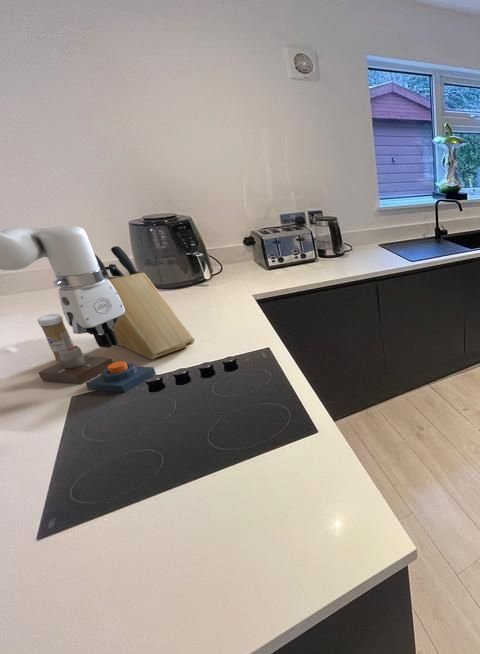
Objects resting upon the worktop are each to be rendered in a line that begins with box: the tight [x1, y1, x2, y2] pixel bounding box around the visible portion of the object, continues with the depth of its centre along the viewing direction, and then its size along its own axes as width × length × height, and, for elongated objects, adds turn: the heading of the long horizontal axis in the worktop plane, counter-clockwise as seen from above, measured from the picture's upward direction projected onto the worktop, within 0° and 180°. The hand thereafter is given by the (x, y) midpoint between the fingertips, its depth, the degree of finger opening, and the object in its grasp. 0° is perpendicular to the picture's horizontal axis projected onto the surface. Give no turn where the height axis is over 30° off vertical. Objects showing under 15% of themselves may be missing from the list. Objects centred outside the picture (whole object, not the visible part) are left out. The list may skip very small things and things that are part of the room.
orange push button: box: [107, 360, 128, 374], centre depth 105 cm, size 4×4×2 cm
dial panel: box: [37, 355, 114, 385], centre depth 109 cm, size 11×9×3 cm
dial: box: [58, 345, 86, 368], centre depth 108 cm, size 4×4×5 cm
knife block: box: [94, 245, 195, 360], centre depth 121 cm, size 11×35×31 cm, turn 64°
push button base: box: [85, 362, 157, 394], centre depth 106 cm, size 10×9×4 cm
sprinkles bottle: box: [36, 313, 75, 362], centre depth 114 cm, size 5×5×13 cm
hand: (108, 345), depth 103 cm, fingers closed
